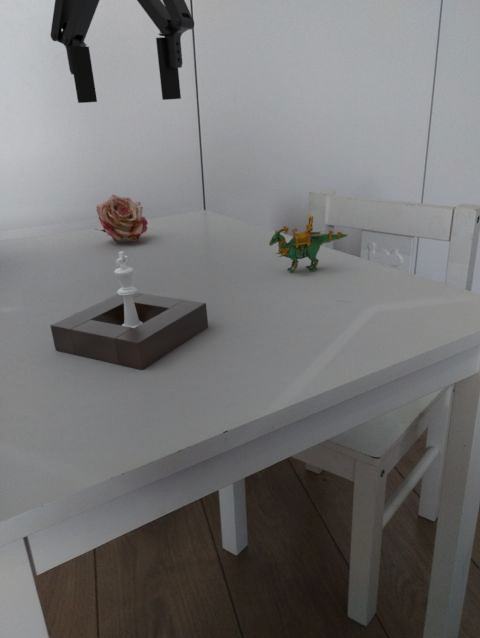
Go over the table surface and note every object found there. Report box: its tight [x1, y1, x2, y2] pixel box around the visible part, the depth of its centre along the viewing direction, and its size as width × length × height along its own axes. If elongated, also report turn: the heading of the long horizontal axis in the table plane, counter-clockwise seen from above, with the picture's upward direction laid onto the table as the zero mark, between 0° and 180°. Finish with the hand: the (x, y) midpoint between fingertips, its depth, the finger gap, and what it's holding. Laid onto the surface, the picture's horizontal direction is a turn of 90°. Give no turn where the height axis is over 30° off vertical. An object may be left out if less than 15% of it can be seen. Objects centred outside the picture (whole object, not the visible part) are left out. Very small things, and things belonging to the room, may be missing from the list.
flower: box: [94, 194, 149, 246], centre depth 107 cm, size 10×9×8 cm
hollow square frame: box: [50, 292, 209, 371], centre depth 64 cm, size 12×12×3 cm
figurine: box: [268, 214, 349, 274], centre depth 84 cm, size 3×12×8 cm, turn 100°
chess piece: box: [114, 251, 142, 328], centre depth 63 cm, size 5×5×10 cm
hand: (128, 101), depth 72 cm, fingers open, 13 cm apart
